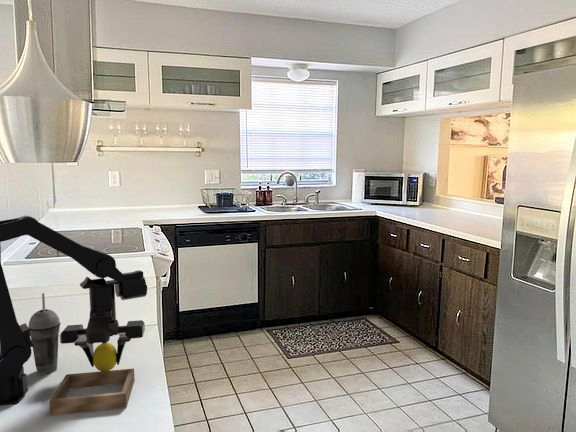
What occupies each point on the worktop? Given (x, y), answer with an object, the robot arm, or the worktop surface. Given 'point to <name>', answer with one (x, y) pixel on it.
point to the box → (92, 402)
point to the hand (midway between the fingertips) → (105, 365)
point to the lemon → (105, 357)
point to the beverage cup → (45, 339)
